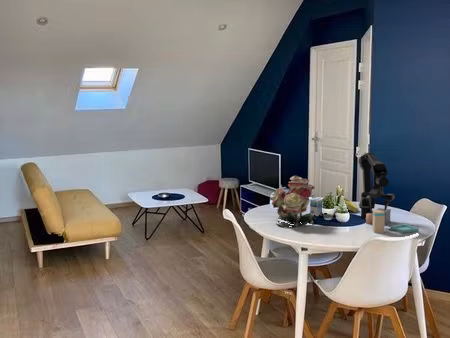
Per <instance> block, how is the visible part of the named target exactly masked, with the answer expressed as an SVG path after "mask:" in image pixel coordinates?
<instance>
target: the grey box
mask: <svg viewBox="0 0 450 338" xmlns="http://www.w3.org/2000/svg"><path fill="white" fill-rule="evenodd" d="M375 210H383V211H384V212H385V224H384V226H387V225H388V224H390V223H391V210H392V209H391V208H387V209H386V211H385V210H384V207H383V208H381V207H378V208H377V209H375Z"/></svg>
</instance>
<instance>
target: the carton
mask: <svg viewBox="0 0 450 338" xmlns="http://www.w3.org/2000/svg"><path fill="white" fill-rule="evenodd" d="M372 211H373V224H372V228H371V229H372V231H373V234H375V233H376V234H377V233H378V234H382V233H383V234H384V233H385V225H384V224H385V212H384V211H383V210H376V209H372Z"/></svg>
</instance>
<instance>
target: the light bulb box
mask: <svg viewBox="0 0 450 338" xmlns="http://www.w3.org/2000/svg"><path fill="white" fill-rule="evenodd" d="M323 198H324V197H322V196H319V197H318V196H317V197H312V198H309V200H310V201H309V213H311V214H312V215H313V216H314V215H315V216H314V217H320V216H323V215H322V199H323ZM319 215H320V216H319Z"/></svg>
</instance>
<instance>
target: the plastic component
mask: <svg viewBox="0 0 450 338" xmlns="http://www.w3.org/2000/svg"><path fill="white" fill-rule="evenodd" d="M344 200H345V204H346V206H347V208H348V209H347V210H349V211H352V212H354V213H357V212H358V210H359V208H358V207H359V206H357V205H356V204H355V203H354V202H353V201H351V200H350V199H348V198H345V197H344Z"/></svg>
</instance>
